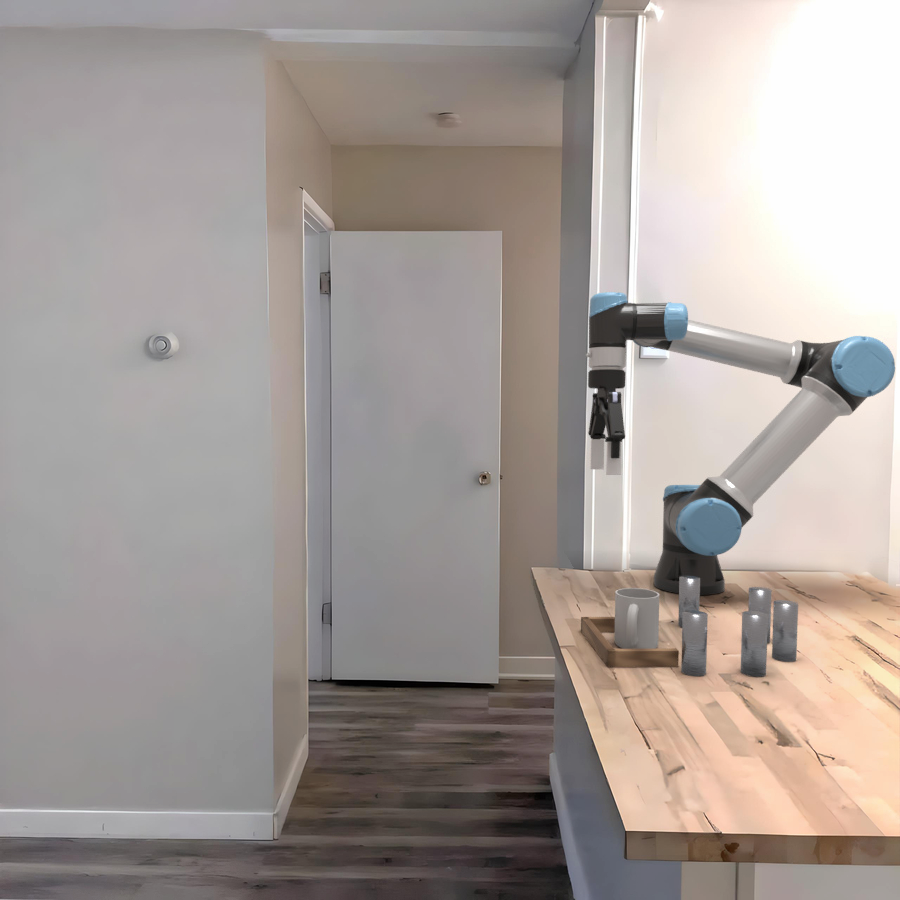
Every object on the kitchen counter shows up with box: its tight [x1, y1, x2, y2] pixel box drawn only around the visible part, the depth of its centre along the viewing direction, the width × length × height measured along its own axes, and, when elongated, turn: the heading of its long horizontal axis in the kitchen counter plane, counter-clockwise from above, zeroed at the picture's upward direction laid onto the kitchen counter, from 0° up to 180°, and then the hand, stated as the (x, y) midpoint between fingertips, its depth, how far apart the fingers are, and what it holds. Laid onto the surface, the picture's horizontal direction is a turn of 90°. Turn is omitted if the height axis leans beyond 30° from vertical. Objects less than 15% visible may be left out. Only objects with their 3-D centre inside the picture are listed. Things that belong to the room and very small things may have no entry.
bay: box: [580, 616, 680, 668], centre depth 126 cm, size 11×19×2 cm, turn 3°
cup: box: [614, 587, 660, 649], centre depth 126 cm, size 7×10×9 cm
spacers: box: [677, 576, 799, 678], centre depth 126 cm, size 21×28×9 cm
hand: (604, 472), depth 157 cm, fingers open, 13 cm apart
